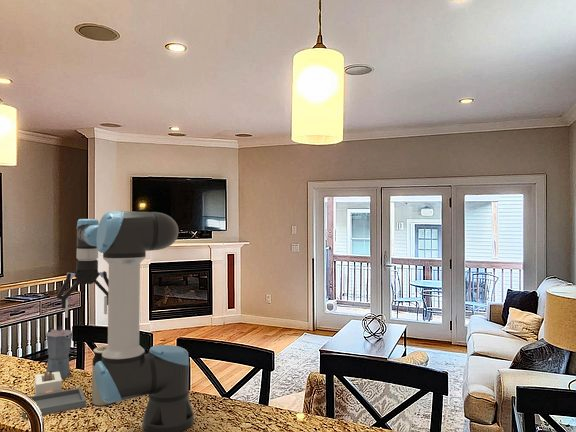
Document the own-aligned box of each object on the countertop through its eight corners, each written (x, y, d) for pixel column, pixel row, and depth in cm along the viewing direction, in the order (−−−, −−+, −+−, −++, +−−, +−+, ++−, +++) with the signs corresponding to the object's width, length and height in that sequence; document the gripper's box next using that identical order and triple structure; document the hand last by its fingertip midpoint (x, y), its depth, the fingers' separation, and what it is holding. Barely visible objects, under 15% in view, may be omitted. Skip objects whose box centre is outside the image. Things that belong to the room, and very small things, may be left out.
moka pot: (57, 383, 168) (58, 330, 168) (33, 376, 175) (34, 325, 176) (80, 376, 176) (80, 325, 176) (56, 369, 184) (57, 320, 184)
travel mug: (86, 405, 149) (87, 351, 149) (100, 396, 157) (101, 344, 157) (109, 407, 148) (110, 352, 148) (121, 397, 156) (122, 346, 156)
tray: (86, 406, 148) (86, 400, 148) (22, 418, 138) (23, 412, 138) (81, 393, 159) (81, 387, 159) (22, 403, 149) (22, 397, 149)
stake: (53, 392, 159) (53, 372, 160) (43, 394, 158) (43, 374, 158) (52, 389, 162) (52, 370, 162) (42, 391, 161) (42, 371, 161)
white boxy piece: (62, 396, 156) (62, 381, 156) (35, 400, 152) (36, 385, 152) (59, 384, 167) (59, 371, 167) (34, 388, 163) (34, 375, 163)
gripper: (120, 257, 179) (119, 310, 179) (49, 259, 166) (48, 316, 166) (123, 259, 172) (122, 314, 172) (50, 261, 160) (49, 320, 160)
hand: (86, 315), depth 169 cm, fingers open, 13 cm apart
